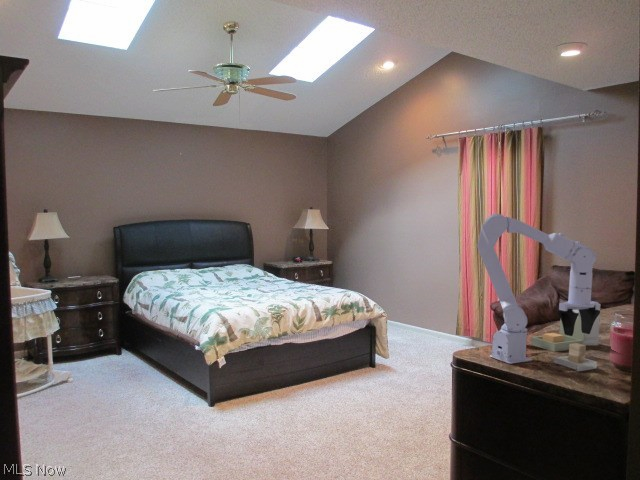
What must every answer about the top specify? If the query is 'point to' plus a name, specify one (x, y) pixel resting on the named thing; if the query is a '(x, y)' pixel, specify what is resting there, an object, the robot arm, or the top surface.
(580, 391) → the top surface
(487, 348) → the top surface
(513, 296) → the robot arm
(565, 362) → the bracket
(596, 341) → the skincare box
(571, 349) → the beige tall block
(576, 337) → the case
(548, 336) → the block
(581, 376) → the top surface
